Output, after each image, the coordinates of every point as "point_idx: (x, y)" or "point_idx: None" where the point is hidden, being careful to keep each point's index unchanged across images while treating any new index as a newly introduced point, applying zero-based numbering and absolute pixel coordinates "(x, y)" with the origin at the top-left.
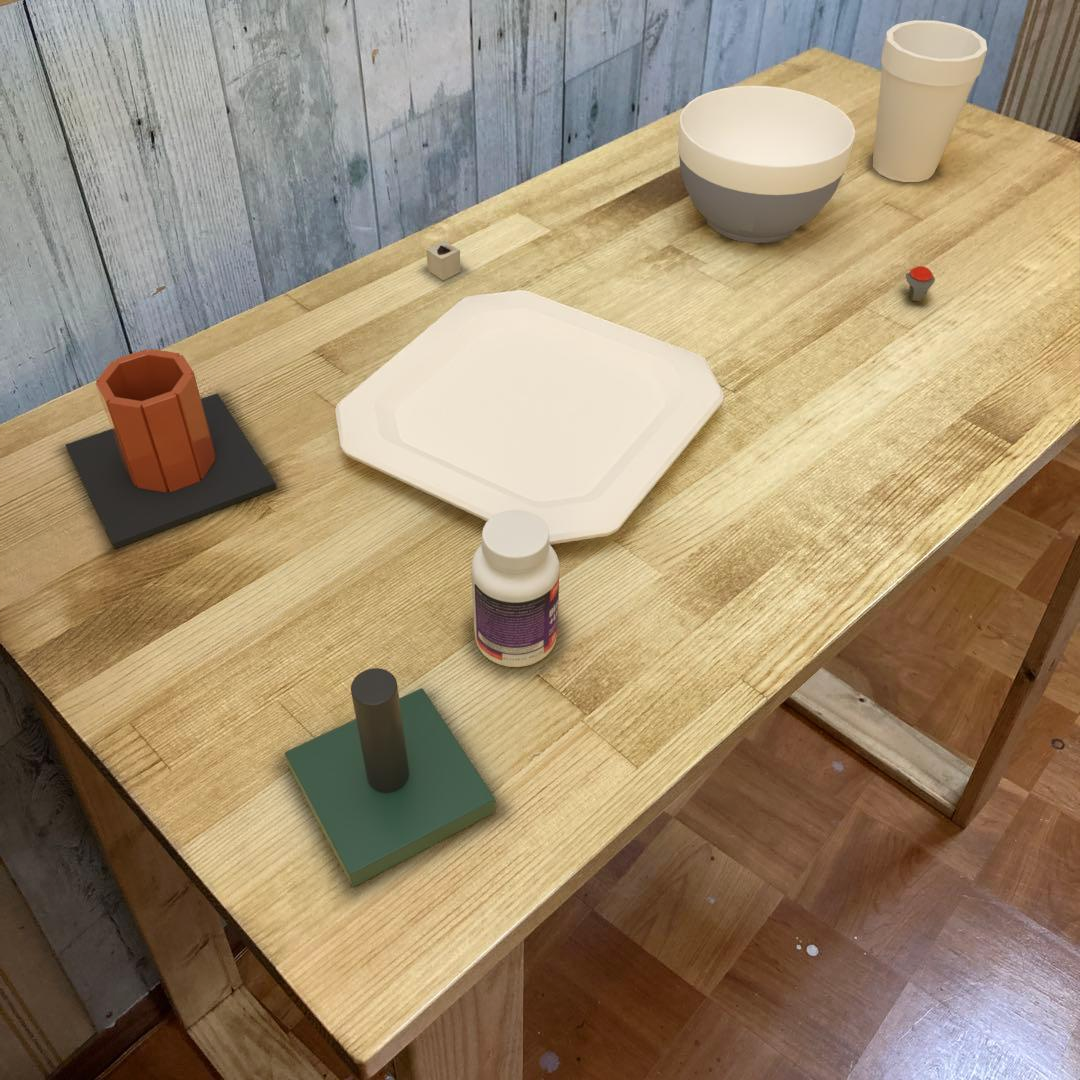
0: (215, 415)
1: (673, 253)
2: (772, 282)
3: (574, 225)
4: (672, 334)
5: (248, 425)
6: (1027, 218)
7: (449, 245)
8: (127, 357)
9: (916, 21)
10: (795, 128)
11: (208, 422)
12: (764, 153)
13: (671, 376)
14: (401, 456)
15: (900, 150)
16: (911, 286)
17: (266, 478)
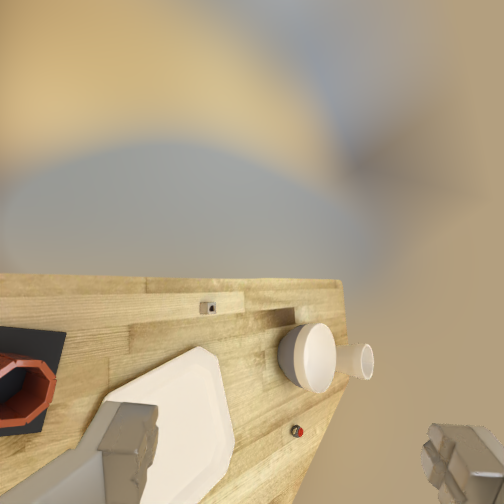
0: (52, 351)
1: (262, 356)
2: (272, 394)
3: (251, 314)
4: (235, 406)
5: (63, 365)
6: (328, 405)
7: (215, 306)
8: (25, 363)
9: (369, 346)
10: (322, 344)
11: (45, 355)
12: (309, 337)
13: (221, 449)
14: None
15: None
16: (295, 433)
17: (39, 425)
